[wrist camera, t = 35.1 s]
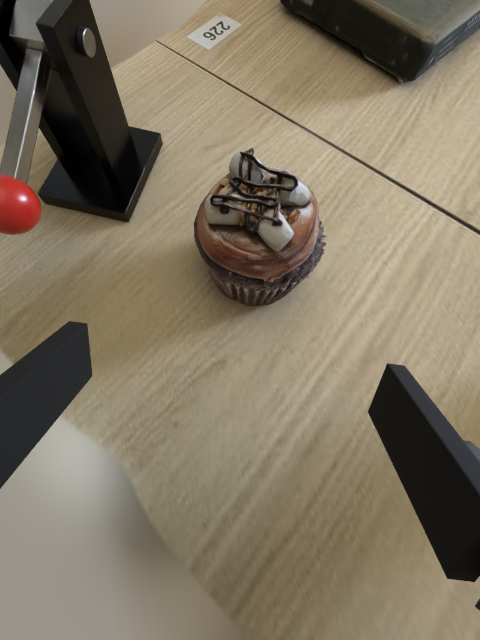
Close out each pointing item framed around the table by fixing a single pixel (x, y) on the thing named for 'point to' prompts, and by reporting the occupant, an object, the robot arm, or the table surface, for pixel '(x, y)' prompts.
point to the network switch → (395, 29)
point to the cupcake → (259, 231)
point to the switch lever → (24, 120)
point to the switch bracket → (83, 116)
